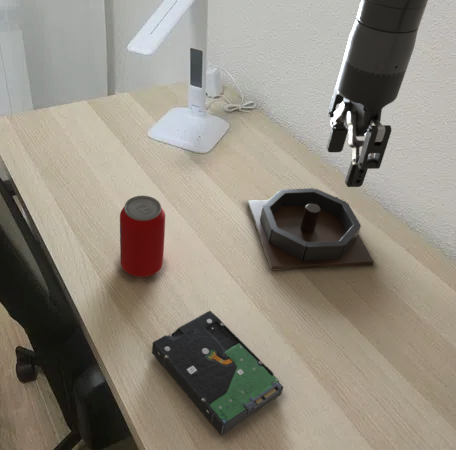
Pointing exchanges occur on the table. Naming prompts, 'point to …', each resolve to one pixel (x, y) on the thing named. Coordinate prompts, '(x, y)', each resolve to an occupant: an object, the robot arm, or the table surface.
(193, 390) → the disk drive
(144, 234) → the beverage can
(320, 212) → the stand
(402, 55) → the robot arm
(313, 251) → the ring
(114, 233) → the table surface
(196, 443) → the table surface
